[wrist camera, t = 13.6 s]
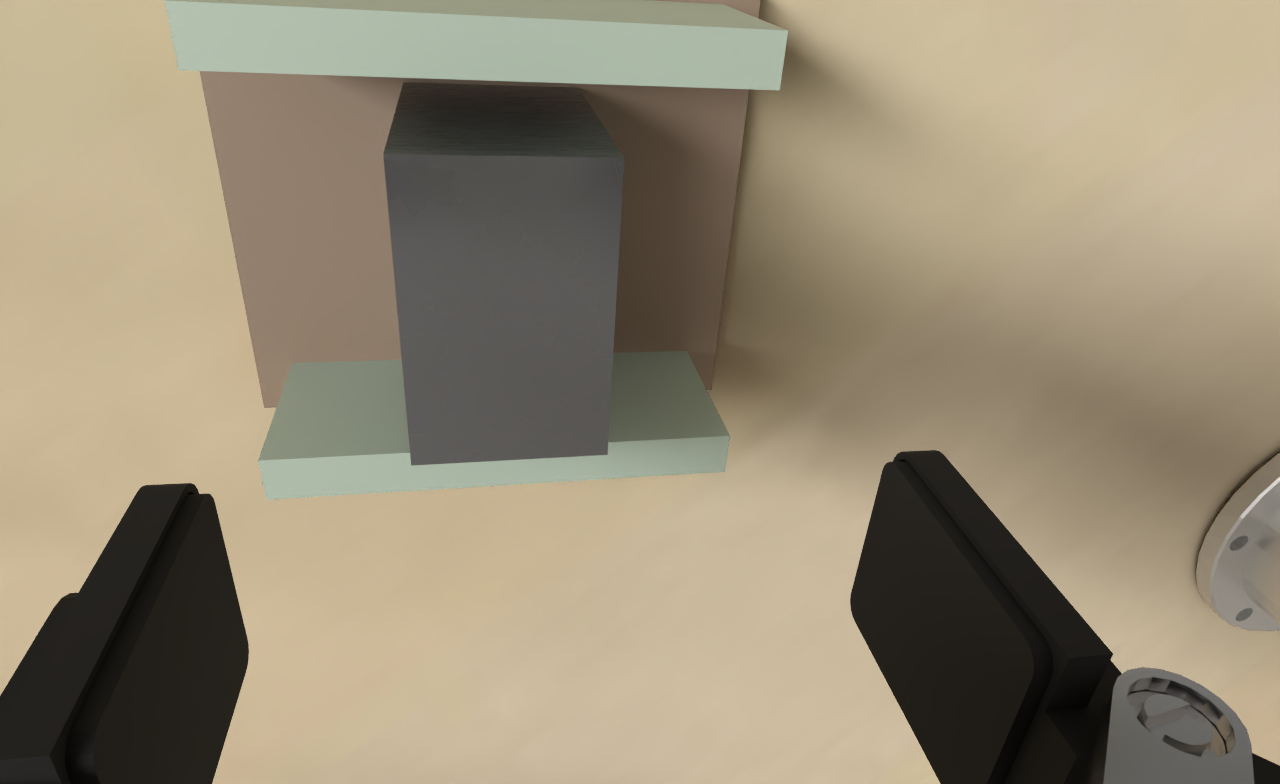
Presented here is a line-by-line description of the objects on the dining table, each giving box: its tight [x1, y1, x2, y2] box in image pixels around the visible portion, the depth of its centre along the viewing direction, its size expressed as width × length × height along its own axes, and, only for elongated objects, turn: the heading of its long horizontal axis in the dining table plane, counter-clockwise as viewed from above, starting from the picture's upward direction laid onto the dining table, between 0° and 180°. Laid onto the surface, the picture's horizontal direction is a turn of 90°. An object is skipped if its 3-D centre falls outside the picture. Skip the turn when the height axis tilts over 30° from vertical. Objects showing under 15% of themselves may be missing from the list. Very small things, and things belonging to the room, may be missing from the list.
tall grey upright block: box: [383, 82, 624, 466], centre depth 20 cm, size 4×7×7 cm, turn 176°
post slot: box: [164, 0, 788, 500], centre depth 22 cm, size 14×12×6 cm
